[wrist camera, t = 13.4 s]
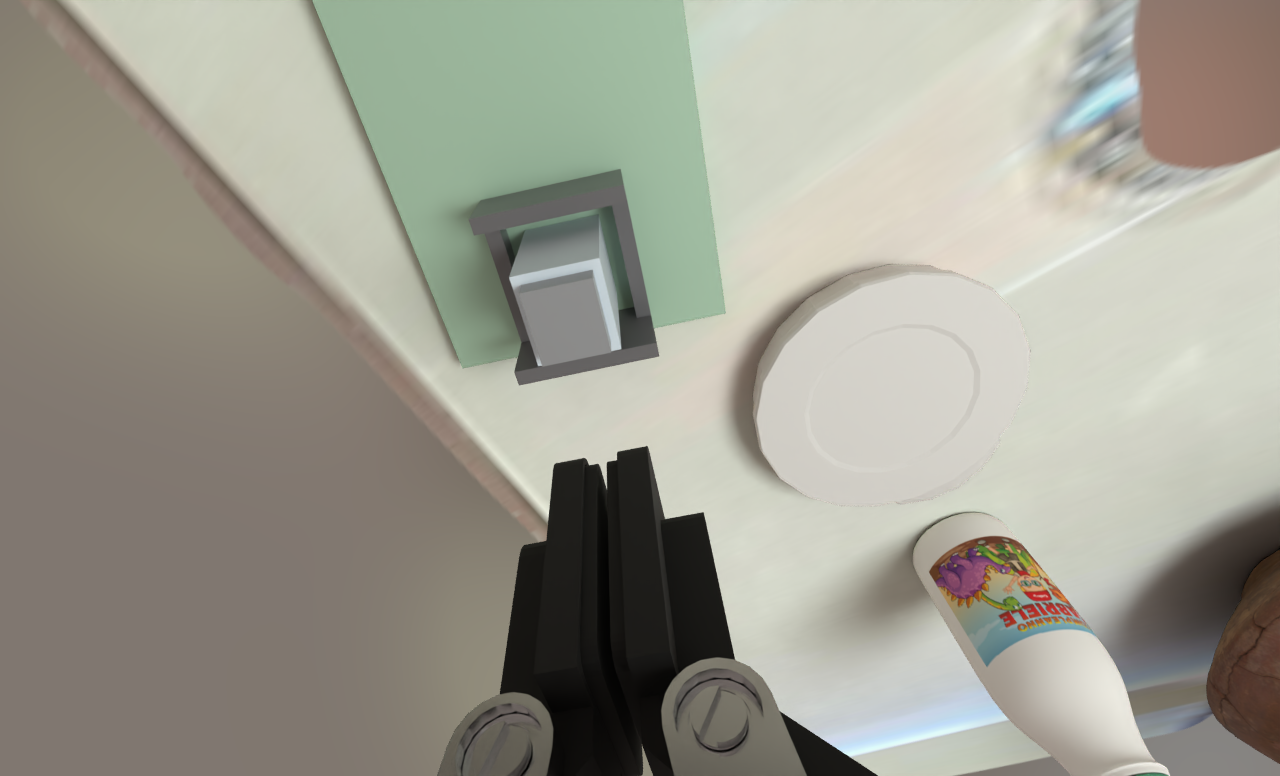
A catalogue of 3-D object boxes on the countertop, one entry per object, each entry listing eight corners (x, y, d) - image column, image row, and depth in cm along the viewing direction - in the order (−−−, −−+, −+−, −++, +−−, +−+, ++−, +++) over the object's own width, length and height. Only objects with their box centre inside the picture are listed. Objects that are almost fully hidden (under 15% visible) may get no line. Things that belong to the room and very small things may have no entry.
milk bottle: (1001, 567, 50) (1210, 847, 33) (908, 586, 51) (1068, 871, 34) (1010, 499, 46) (1253, 777, 29) (909, 520, 47) (1091, 805, 30)
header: (480, 200, 31) (462, 227, 27) (620, 169, 31) (625, 191, 27) (528, 341, 35) (519, 385, 31) (651, 316, 35) (659, 356, 31)
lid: (851, 535, 48) (865, 564, 45) (692, 376, 39) (699, 400, 37) (1059, 407, 42) (1089, 432, 40) (928, 193, 34) (955, 206, 31)
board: (311, -27, 27) (299, -30, 26) (663, -114, 26) (666, -120, 25) (466, 358, 37) (462, 368, 36) (722, 305, 36) (725, 313, 35)
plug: (525, 230, 32) (506, 285, 25) (598, 214, 32) (599, 265, 25) (550, 314, 35) (539, 386, 28) (618, 300, 34) (624, 368, 28)
